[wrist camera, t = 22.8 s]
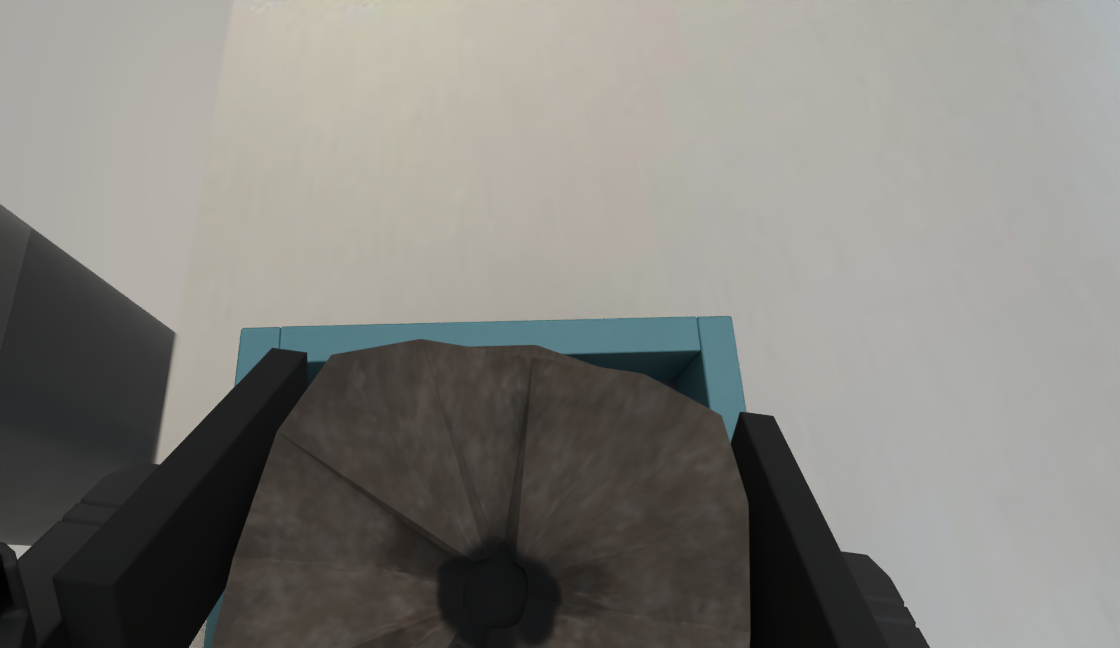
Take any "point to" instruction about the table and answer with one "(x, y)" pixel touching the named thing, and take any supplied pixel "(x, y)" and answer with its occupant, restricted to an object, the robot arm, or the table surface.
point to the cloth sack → (491, 510)
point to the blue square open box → (623, 344)
